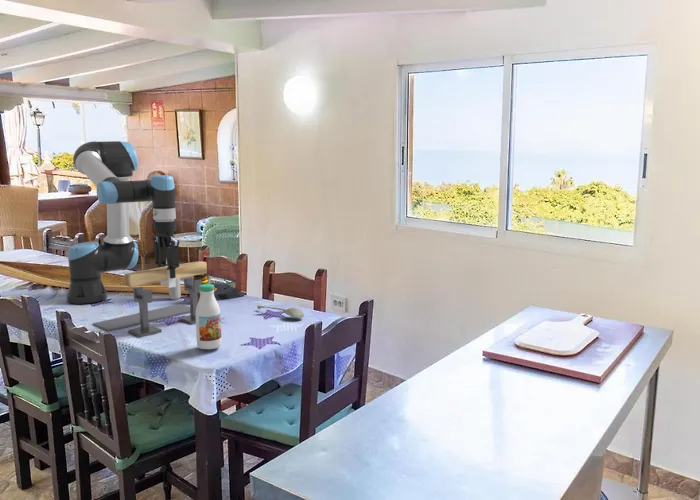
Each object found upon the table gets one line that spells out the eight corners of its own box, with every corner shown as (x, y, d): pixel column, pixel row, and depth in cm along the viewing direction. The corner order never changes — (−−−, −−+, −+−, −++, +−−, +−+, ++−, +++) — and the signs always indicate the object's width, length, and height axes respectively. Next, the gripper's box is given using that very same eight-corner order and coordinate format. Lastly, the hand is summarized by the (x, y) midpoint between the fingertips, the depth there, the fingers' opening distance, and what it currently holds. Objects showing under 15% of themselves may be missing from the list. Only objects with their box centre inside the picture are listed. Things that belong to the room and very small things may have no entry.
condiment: (212, 300, 251) (211, 272, 249) (203, 306, 243) (202, 276, 241) (196, 300, 253) (194, 272, 251) (187, 305, 244) (185, 276, 242)
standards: (128, 332, 208) (125, 289, 205) (197, 315, 228) (195, 276, 226) (140, 337, 203) (137, 292, 200) (210, 319, 223) (208, 279, 221)
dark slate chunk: (225, 287, 276) (224, 277, 276) (247, 297, 259) (247, 286, 258) (193, 292, 267) (192, 282, 267) (213, 302, 250) (213, 291, 249)
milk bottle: (192, 348, 191) (188, 286, 188) (206, 341, 198) (203, 281, 195) (212, 351, 189) (210, 288, 185) (226, 343, 196) (223, 283, 192)
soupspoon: (295, 321, 223) (307, 317, 228) (295, 313, 222) (307, 309, 228) (252, 310, 236) (264, 306, 241) (252, 302, 235) (264, 298, 240)
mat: (92, 325, 217) (92, 323, 217) (180, 305, 243) (180, 303, 243) (108, 332, 209) (108, 329, 209) (197, 311, 235) (197, 309, 235)
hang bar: (125, 285, 203) (124, 273, 202) (200, 271, 225) (200, 260, 224) (131, 287, 200) (130, 275, 200) (206, 272, 222) (206, 262, 222)
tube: (183, 300, 252) (180, 241, 248) (171, 302, 249) (168, 242, 245) (178, 297, 256) (175, 239, 252) (166, 299, 253) (163, 240, 249)
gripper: (141, 219, 212) (145, 284, 216) (168, 223, 201) (172, 291, 205) (161, 217, 218) (164, 280, 222) (188, 221, 206) (191, 287, 210)
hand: (168, 285), depth 213 cm, fingers closed on hang bar, 4 cm apart
